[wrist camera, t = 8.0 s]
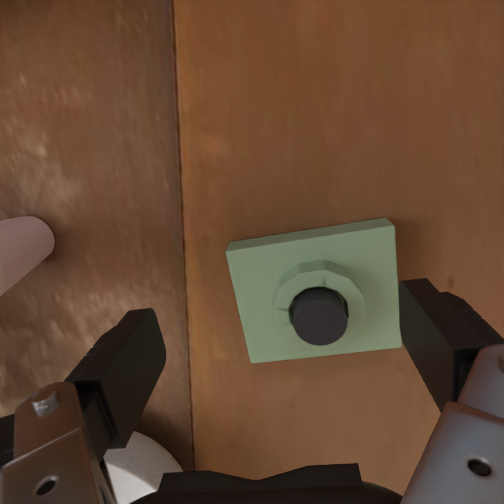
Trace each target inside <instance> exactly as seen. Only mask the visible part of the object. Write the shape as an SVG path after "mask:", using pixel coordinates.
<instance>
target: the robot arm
mask: <svg viewBox="0 0 504 504" xmlns="http://www.w3.org/2000/svg"><path fill="white" fill-rule="evenodd" d="M398 291H399V325H400V333H401V337H402V341H403V343H404V346H405V348H406V349H407V351H408V353H409V355H410V357H411V359H412V360H413V362H414V364H415V366H416V368H417V370H418V371H419V373H420V375H421V377H422V379H423V381H424V382H425V384H426V386H427V388H428V390H429V392H430V393H431V395H432V397H433V399H434V401H435V403H436V404H437V406H438V408H439V410H440V412H441V415H440V417H439V420H438V422H437V424H436V426H435V428H434V430H433V433H432V435H431V437H430V439H429V441H428V443H427V446H426V448H425V450H424V452H423V454H422V456H421V459H420V461H419V463H418V465H417V467H416V469H415V472H414V474H413V476H412V478H411V480H410V482H409V485H408V487H407V489H406V491H405V493H404V495H403V496H401V495H400V494H398V493H396V492H394V491H391V490H389V489H387V488H385V487H382V486H379V485H376V484H373V483H369V482H364V481H362V480H361V476H360V471H359V467H358V463H353V464H332V465H312V466H305V467H301V468H298V469H295V470H291V471H288V472H285V473H281V474H278V475H274V476H271V477H268V478H264V479H261V480H250V479H245V478H241V477H236V476H232V475H227V474H222V473H218V472H213V471H189V472H168V473H163V476H162V479H161V482H160V485H159V488H158V491H155V492H152V493H150V494H147V495H145V496H143V497H141V498H139V499H137V500H135V501H133V502H131V503H130V504H504V339H503V338H502V337H501V336H500V335H499V334H498V333H497V332H496V331H495V330H494V329H493V328H492V327H491V326H490V325H489V324H488V323H487V322H486V321H485V320H484V319H482V318H481V316H480V315H479V314H478V313H477V312H476V311H473V308H472V307H471V306H470V305H469V304H468V303H467V302H466V301H465V300H464V299H462V298H460V297H458V296H455V295H453V294H451V293H449V292H441V293H440V292H439V291H438V290H437V289H436V288H435V287H434V286H433V285H432V284H431V282H430V281H429V280H428V279H426V278H422V279H413V280H404V281H400V282H399V288H398ZM165 362H166V348H165V344H164V341H163V337H162V334H161V331H160V327H159V324H158V320H157V317H156V314H155V311H154V310H153V309H152V308H147V309H138V310H130V311H128V312H127V313H126V314H125V316H124V317H123V318H122V319H121V321H120V322H119V323H118V324H117V326H115V327H113V328H112V329H110V330H109V331H108V332H106V333H105V334H103V335H102V336H101V337H100V338H99V340H98V341H97V342H96V343H95V344H94V346H93V348H91V349H90V350H89V352H88V353H87V354H86V356H84V358H83V359H82V360H81V361H80V362H79V364H78V365H77V366H76V367H75V368H74V370H73V371H72V372H71V373H70V374H69V376H68V377H67V378H66V379H65V380H64V382H57V383H53V384H50V385H47V386H45V387H43V388H40V389H39V390H37V391H35V392H34V393H32V394H31V395H29V396H28V397H27V398H25V399H24V400H23V401H22V402H21V403H20V405H19V406H18V407H17V409H16V411H15V414H12V415H9V416H6V417H2V418H0V504H118V502H117V498H116V495H115V491H114V488H113V484H112V481H111V477H110V474H109V471H108V467H107V464H106V462H105V459H104V455H105V453H106V451H107V450H108V449H124V448H126V446H127V444H128V442H129V440H130V437H131V435H132V433H133V431H134V429H135V427H136V425H137V423H138V421H139V419H140V416H141V414H142V412H143V410H144V408H145V406H146V404H147V402H148V400H149V397H150V395H151V393H152V391H153V389H154V387H155V385H156V383H157V381H158V378H159V376H160V374H161V372H162V370H163V368H164V366H165Z"/></svg>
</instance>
